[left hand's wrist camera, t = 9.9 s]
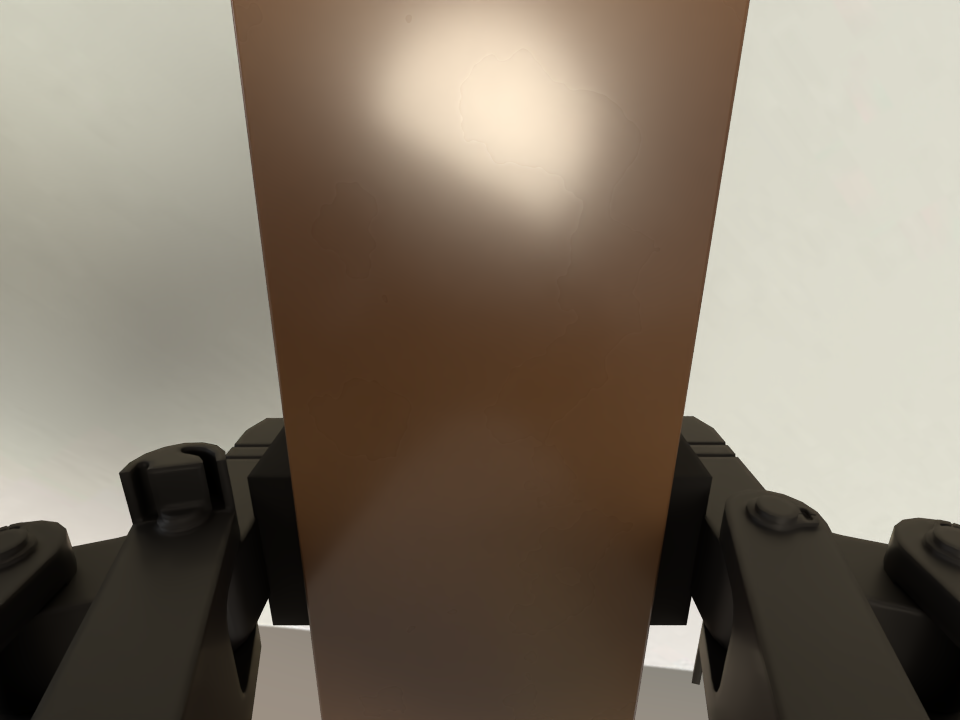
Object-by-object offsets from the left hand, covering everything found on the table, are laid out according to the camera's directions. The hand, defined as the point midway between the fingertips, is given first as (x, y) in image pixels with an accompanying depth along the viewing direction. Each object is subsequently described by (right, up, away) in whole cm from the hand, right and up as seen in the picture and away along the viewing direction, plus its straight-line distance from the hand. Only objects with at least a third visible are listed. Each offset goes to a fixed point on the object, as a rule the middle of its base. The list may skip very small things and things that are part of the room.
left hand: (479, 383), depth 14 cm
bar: (0, +17, -6) cm, 18 cm away
